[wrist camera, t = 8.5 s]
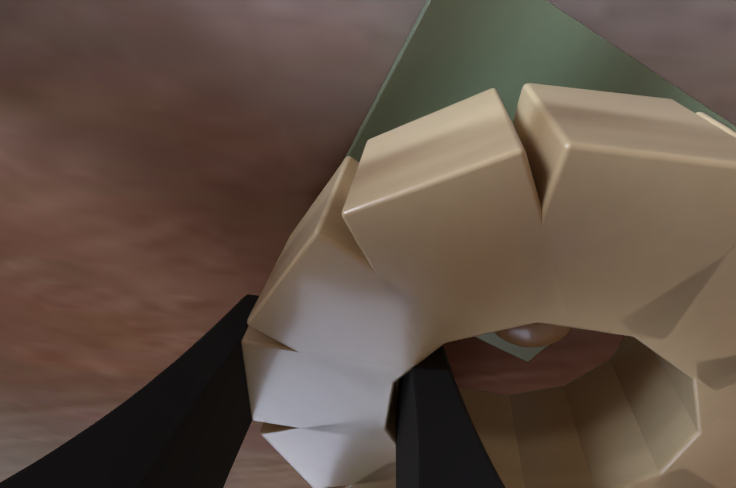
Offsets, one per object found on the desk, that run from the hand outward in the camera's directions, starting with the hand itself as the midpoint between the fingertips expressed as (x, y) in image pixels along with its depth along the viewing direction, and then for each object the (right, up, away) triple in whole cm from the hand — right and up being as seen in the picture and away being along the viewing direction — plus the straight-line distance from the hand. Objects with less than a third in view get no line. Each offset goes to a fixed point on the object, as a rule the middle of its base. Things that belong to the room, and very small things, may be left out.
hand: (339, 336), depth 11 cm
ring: (+5, 0, +1) cm, 5 cm away
